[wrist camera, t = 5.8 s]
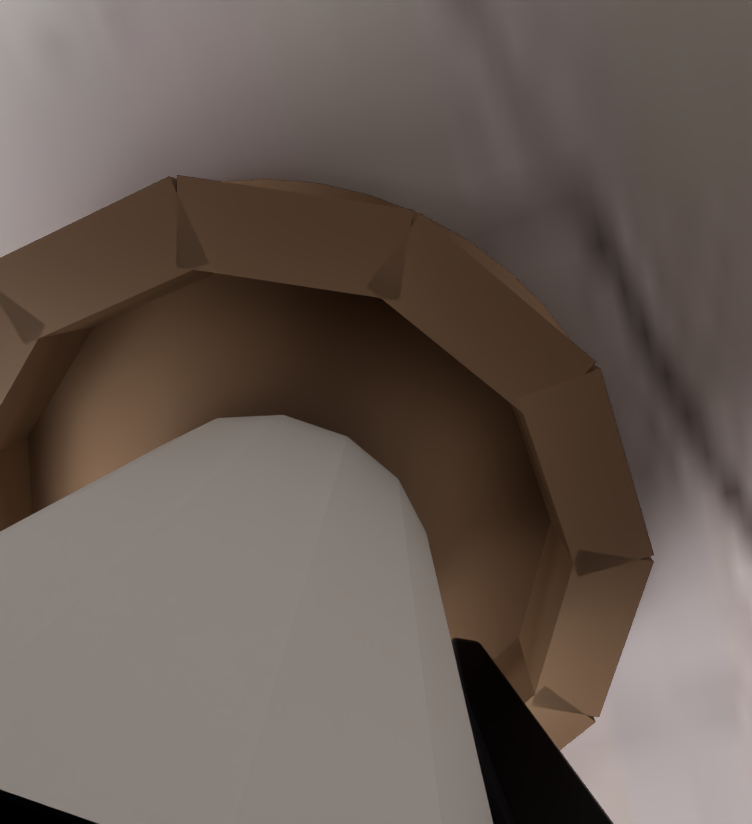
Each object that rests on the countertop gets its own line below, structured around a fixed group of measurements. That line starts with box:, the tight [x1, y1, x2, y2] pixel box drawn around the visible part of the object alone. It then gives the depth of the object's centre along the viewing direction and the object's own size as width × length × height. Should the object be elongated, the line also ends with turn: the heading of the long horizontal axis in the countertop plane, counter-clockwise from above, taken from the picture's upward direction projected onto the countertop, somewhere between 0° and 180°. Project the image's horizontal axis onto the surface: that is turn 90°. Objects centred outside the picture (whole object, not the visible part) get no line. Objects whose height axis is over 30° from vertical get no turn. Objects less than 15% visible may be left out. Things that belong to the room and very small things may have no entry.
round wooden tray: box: [0, 175, 654, 750], centre depth 10 cm, size 13×13×2 cm
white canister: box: [0, 415, 493, 824], centre depth 6 cm, size 7×7×7 cm
